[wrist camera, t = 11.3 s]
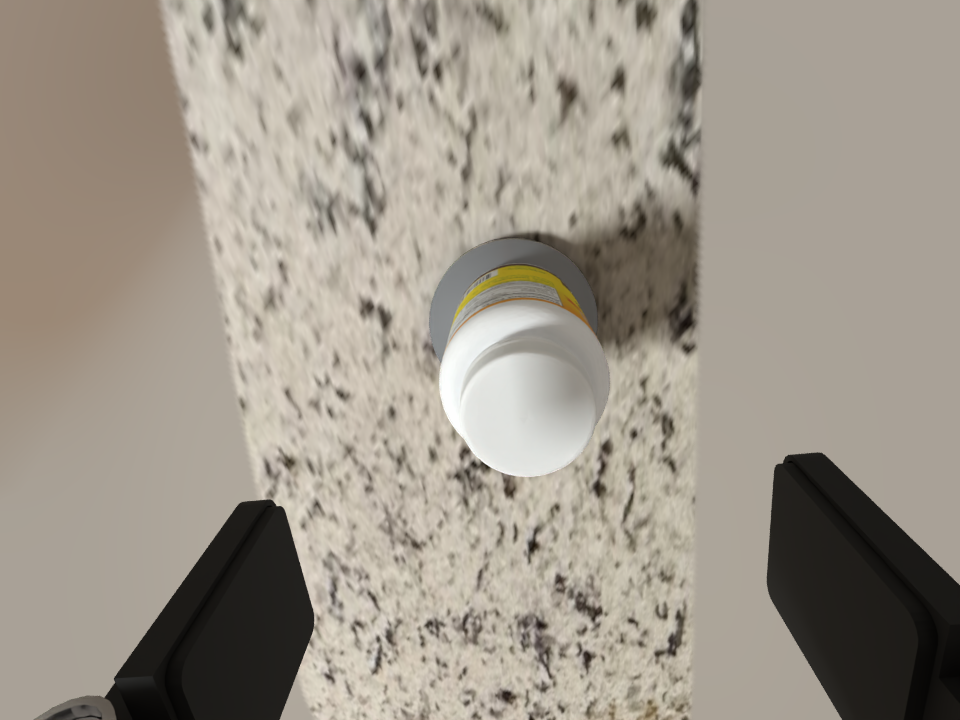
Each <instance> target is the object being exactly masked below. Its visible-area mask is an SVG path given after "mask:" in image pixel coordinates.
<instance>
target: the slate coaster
mask: <svg viewBox="0 0 960 720" xmlns="http://www.w3.org/2000/svg"><path fill="white" fill-rule="evenodd" d="M512 263H525V264H531V265H536V266H539V267H542V268H544V269H546V270H548V271H550V272H552V273H553V274H555V275H556V276H558V277H559V278H560V279H561V280H562V281H563V282H564V283H565V284H566V285H567V286H568V288H569V289H570V291H571V292H572V293H573V295H574V297H575V298H576V300H577V302H578V304H579V306H580V308H581V310H582V311H583V313H584V315H585V317H586V319H587V320H588V322H589V324H590V326H591V328H592V329H593V331H594V333H595V335H596V334H597V328H598V314H597V306H596V302H595V298H594V295H593V292H592V290H591V288H590V285H589V284H588V282H587V280H586V279H585V277H584V275H583V274H582V272H581V271H580V270H579V269H578V267H577V266H576V265H575V264H574V263H573V262H572V261H571V260H570V259H569V258H568V257H567V256H566V255H564V254H563V253H561V252H560V251H559V250H557V249H555V248H553V247H551V246H549V245H547V244H545V243H542V242H539V241H536V240H531V239H527V238H502V239H497V240H492V241H489V242H486V243H483V244H481V245H478V246H476V247H474V248H472V249H471V250H469V251H468V252H466V253H465V254H463V255H462V256H461V257H460V258H458V259H457V260H456V261H455V262H454V263H453V264H452V265H451V266H450V268H449V269H448V270H447V271H446V273H445V274H444V276H443V277H442V279H441V281H440V283H439V285H438V287H437V289H436V291H435V294H434V297H433V300H432V303H431V309H430V317H429V327H430V336H431V340H432V345H433V347H434V350H435V353H436V355H437V357H438V359H439V361H440V362H442V359H443V355H444V352H445V348H446V344H447V341H448V337H449V333H450V330H451V327H452V324H453V320H454V317H455V313H456V310H457V307H458V304H459V302H460V300H461V298H462V296H463V294H464V293H465V291H466V290H467V288H468V287H469V286H470V284H471V283H472V282H473V281H474V280H475V279H477V278H478V277H479V276H481V275H482V274H483V273H485V272H487V271H489V270H491V269H493V268H495V267H498V266H501V265H505V264H512Z"/></svg>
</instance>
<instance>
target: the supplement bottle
mask: <svg viewBox="0 0 960 720" xmlns="http://www.w3.org/2000/svg"><path fill="white" fill-rule="evenodd" d="M439 388H440V395H441V400H442V404H443V407H444V410H445V412H446V415H447V417H448V418H449V420H450V422H451V424H452V425H453V427H454V428H455V429H456V431H457V432H458V433H459V434H460V435H461V436H462V437H463V438H464V439H465V441H466V443H467V444H468V446H469V447H470V449H471V450H472V452H473V453H474V454H475V455H476V456H477V457H478V458H479V459H480V460H481V461H482V462H484V463H485V464H487V465H488V466H490V467H491V468H493V469H495V470H497V471H500V472H502V473H505V474H509V475H513V476H521V477H533V476H542V475H546V474H549V473H552V472H555V471H557V470H560V469H562V468H563V467H565V466H567V465H568V464H570V463H571V462H572V461H574V460H575V459H576V458H577V457H578V456H579V455H580V454H581V453H582V452H583V450H584V449H585V448H586V447H587V445H588V443H589V441H590V440H591V437H592V435H593V432H594V429H595V426H596V424H597V423H598V421H599V419H600V418H601V416H602V414H603V411H604V409H605V406H606V403H607V399H608V395H609V388H610V375H609V367H608V363H607V359H606V356H605V353H604V351H603V349H602V346H601V344H600V342H599V340H598V338H597V337H596V335H595V333H594V331H593V329H592V328H591V326H590V324H589V322H588V320H587V319H586V317H585V315H584V313H583V311H582V310H581V308H580V306H579V304H578V302H577V300H576V298H575V297H574V295H573V293H572V292H571V291H570V289H569V288H568V286H567V285H566V284H565V283H564V282H563V281H562V280H561V279H560V278H559V277H558V276H556V275H555V274H553V273H552V272H550V271H548V270H546V269H544V268H542V267H539V266H536V265H531V264H525V263H512V264H505V265H501V266H498V267H495V268H493V269H491V270H489V271H487V272H485V273H483V274H482V275H481V276H479V277H478V278H477V279H475V280H474V281H473V282H472V283H471V284H470V286H469V287H468V288H467V290H466V291H465V293H464V294H463V296H462V298H461V300H460V302H459V304H458V307H457V310H456V313H455V317H454V320H453V324H452V327H451V330H450V333H449V337H448V341H447V344H446V348H445V352H444V355H443V359H442V362H441V367H440V377H439Z"/></svg>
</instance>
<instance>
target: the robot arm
mask: <svg viewBox="0 0 960 720" xmlns="http://www.w3.org/2000/svg"><path fill="white" fill-rule="evenodd" d="M772 496H773V497H772V510H771V525H770V540H769V554H768V570H767V587H768V592H769V595H770V597H771V600H772V602H773V603H774V605H775V607H776V609H777V610H778V612H779V614H780V615H781V617H782V619H783V620H784V622H785V624H786V626H787V627H788V629H789V630H790V632H791V634H792V636H793V637H794V639H795V641H796V642H797V644H798V646H799V648H800V649H801V651H802V652H803V654H804V656H805V658H806V659H807V661H808V663H809V664H810V666H811V668H812V670H813V671H814V673H815V675H816V676H817V678H818V680H819V681H820V683H821V685H822V686H823V688H824V690H825V691H826V693H827V695H828V696H829V698H830V700H831V702H832V703H833V705H834V706H835V708H836V710H837V712H838V713H839V715H840V717H841V718H842V720H960V585H959V584H958V583H957V582H956V581H955V580H954V579H953V578H952V577H951V576H949V574H948V573H946V571H944V570H943V569H942V568H941V567H940V566H939V565H938V564H937V563H936V562H935V561H934V560H933V559H932V558H931V557H930V556H929V555H928V554H927V553H926V552H925V551H924V550H923V549H922V548H921V547H920V546H919V545H918V544H916V542H914V541H913V540H912V539H911V538H910V537H909V536H908V535H907V534H906V533H905V532H904V531H903V530H902V529H901V528H900V527H899V526H898V525H897V524H896V523H895V522H894V521H893V520H892V519H891V518H890V517H889V516H888V515H886V514H885V513H884V512H883V511H882V510H881V509H880V508H879V507H878V506H877V505H876V504H875V503H874V502H873V501H872V500H871V499H870V498H869V497H868V496H867V495H866V494H865V493H864V492H863V491H862V490H861V489H859V488H858V487H857V486H856V485H855V484H854V483H853V482H852V481H851V480H850V479H849V478H848V477H847V476H846V475H845V474H844V473H843V472H842V471H841V470H840V469H839V468H838V467H837V466H836V465H835V464H834V463H833V462H832V461H831V460H830V459H828V458H827V457H826V456H825V455H824V454H823V453H807V454H795V455H788V456H786V457H785V459H784V461H783V464H777V465H776V467H775V470H774V481H773V495H772ZM313 628H314V612H313V608H312V605H311V601H310V598H309V594H308V591H307V587H306V584H305V580H304V576H303V573H302V569H301V566H300V562H299V559H298V555H297V552H296V548H295V544H294V541H293V537H292V534H291V530H290V527H289V523H288V520H287V516H286V513H285V510H284V508H283V507H281V506H276V504H275V503H274V502H273V501H272V500H258V501H247V502H242V503H240V504H239V505H238V506H237V507H236V508H235V510H234V511H233V513H232V514H231V515H230V517H229V518H228V520H227V521H226V522H225V524H224V525H223V527H222V528H221V530H220V531H219V532H218V534H217V535H216V536H215V538H214V539H213V541H212V542H211V543H210V545H209V546H208V548H207V549H206V550H205V552H204V553H203V555H202V556H201V557H200V559H199V560H198V562H197V563H196V564H195V566H194V567H193V569H192V570H191V571H190V573H189V574H188V575H187V577H186V578H185V580H184V581H183V582H182V584H181V585H180V587H179V588H178V589H177V591H176V593H175V594H174V595H173V596H172V598H171V599H170V601H169V602H168V603H167V605H166V606H165V608H164V609H163V611H162V612H161V613H160V615H159V616H158V618H157V619H156V620H155V622H154V623H153V624H152V626H151V627H150V629H149V630H148V631H147V633H146V634H145V636H144V637H143V638H142V640H141V641H140V643H139V644H138V646H137V647H136V648H135V649H134V651H133V652H132V654H131V655H130V656H129V658H128V659H127V661H126V662H125V663H124V665H123V666H122V668H121V669H120V670H119V672H118V673H117V675H116V676H115V678H114V681H115V684H114V685H113V686H112V688H111V689H110V691H109V692H108V694H107V695H106V696H105V698H103V697H101V696H84V697H79V698H75V699H71V700H69V701H66V702H64V703H62V704H60V705H57V706H55V707H53V708H51V709H50V710H48V711H47V712H45V713H43V714H42V715H40V716H39V717H37V718H35V719H34V720H279V719H280V717H281V714H282V711H283V709H284V706H285V704H286V701H287V698H288V696H289V693H290V691H291V688H292V685H293V682H294V680H295V677H296V675H297V672H298V669H299V667H300V664H301V662H302V659H303V656H304V654H305V651H306V648H307V646H308V643H309V640H310V638H311V635H312V632H313Z"/></svg>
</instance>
